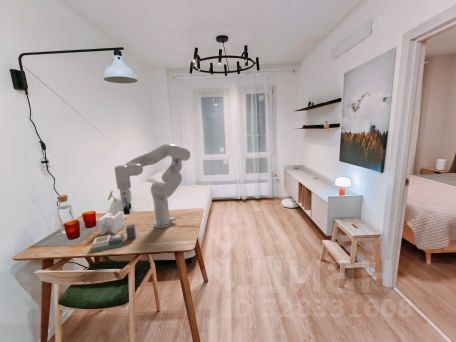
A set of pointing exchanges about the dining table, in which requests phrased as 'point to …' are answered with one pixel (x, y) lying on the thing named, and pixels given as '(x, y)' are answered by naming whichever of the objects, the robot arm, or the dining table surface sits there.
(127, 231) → the plug
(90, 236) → the dining table surface
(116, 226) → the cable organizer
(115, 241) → the header board
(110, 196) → the flower in vase
